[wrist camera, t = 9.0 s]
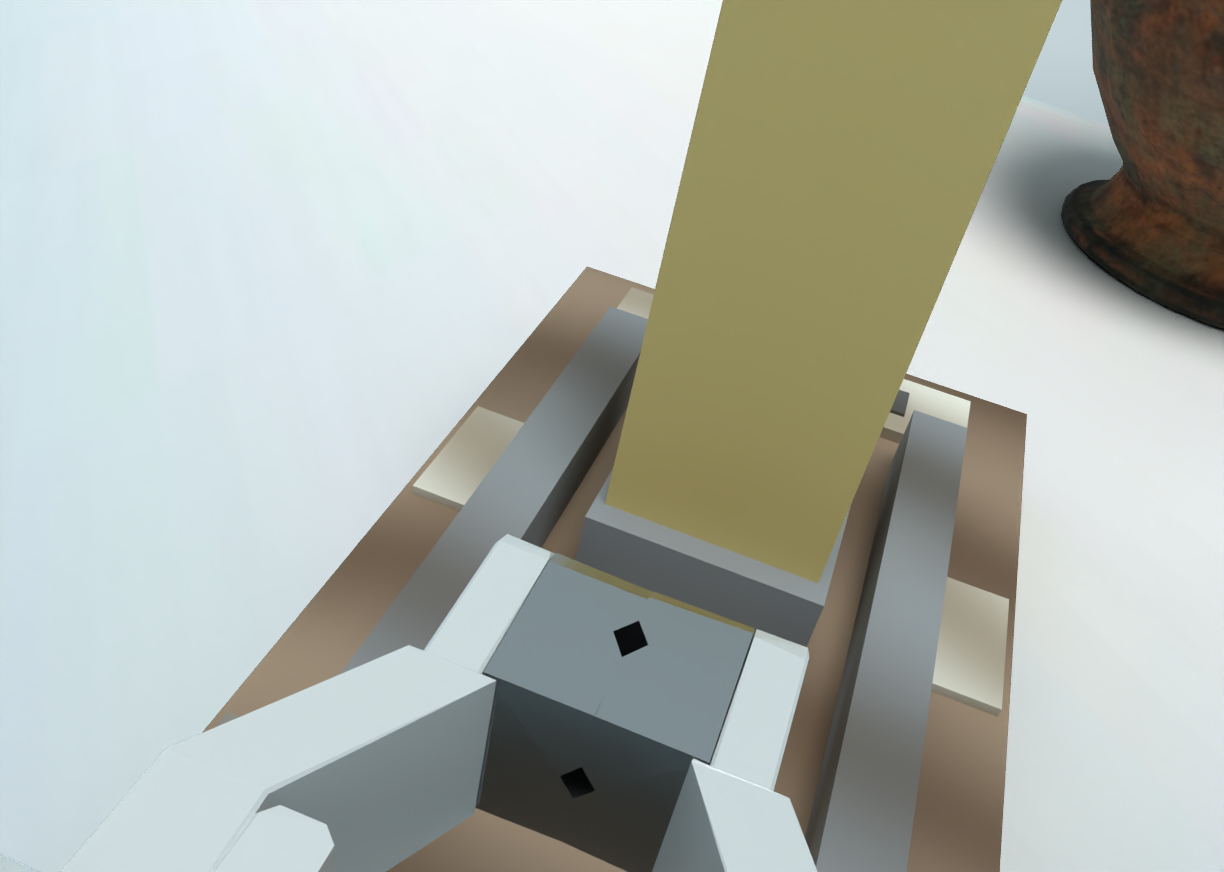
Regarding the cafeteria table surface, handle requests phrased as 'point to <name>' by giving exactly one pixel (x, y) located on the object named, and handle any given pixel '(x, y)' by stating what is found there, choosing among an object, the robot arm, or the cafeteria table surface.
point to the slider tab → (800, 287)
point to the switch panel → (838, 648)
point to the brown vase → (1159, 153)
